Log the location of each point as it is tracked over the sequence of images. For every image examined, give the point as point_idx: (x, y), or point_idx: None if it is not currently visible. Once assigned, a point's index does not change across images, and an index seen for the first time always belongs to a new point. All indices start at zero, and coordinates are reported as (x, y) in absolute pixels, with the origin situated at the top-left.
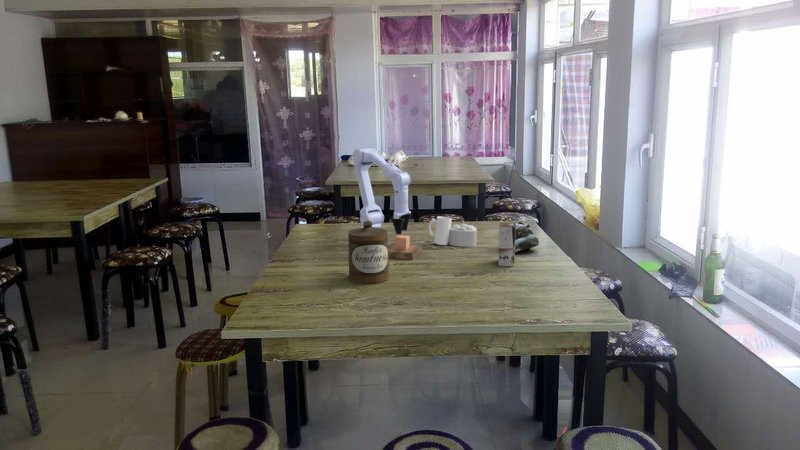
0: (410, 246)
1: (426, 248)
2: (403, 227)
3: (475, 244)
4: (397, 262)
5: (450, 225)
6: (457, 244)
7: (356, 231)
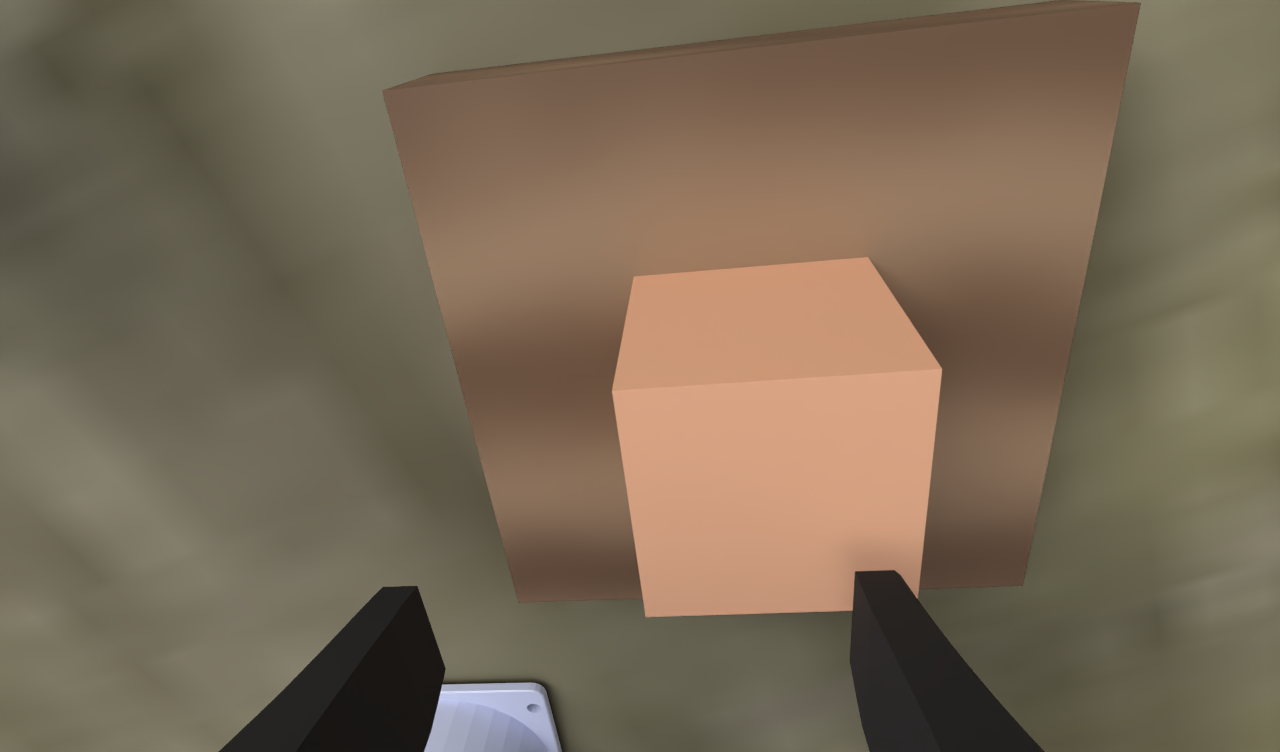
0: (588, 278)
1: (163, 106)
2: (408, 706)
3: None
4: (1261, 204)
5: None
6: None
7: None
